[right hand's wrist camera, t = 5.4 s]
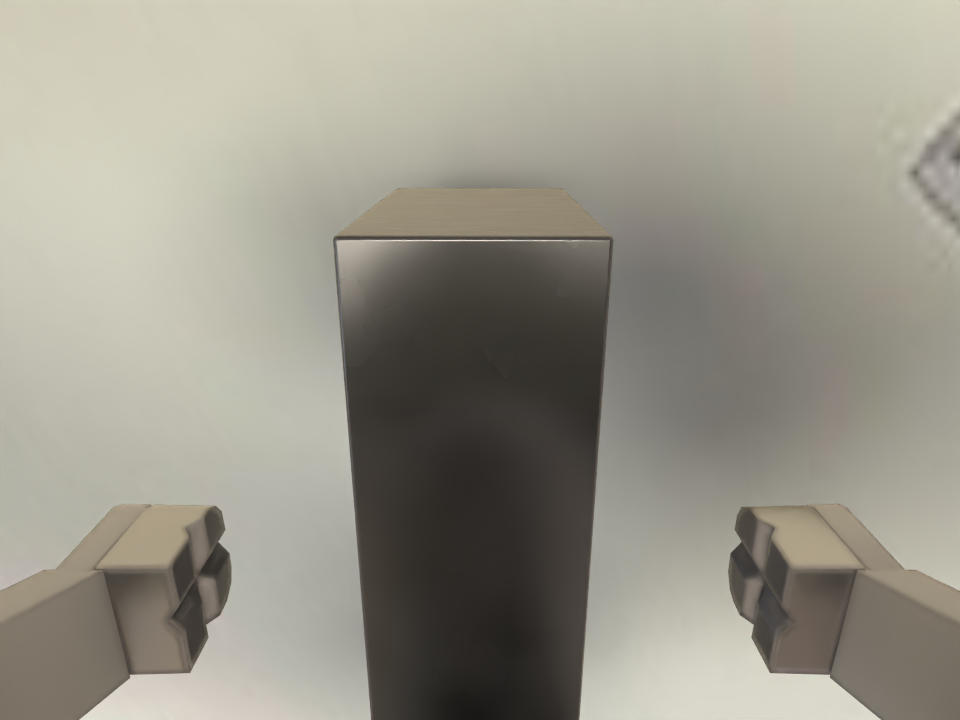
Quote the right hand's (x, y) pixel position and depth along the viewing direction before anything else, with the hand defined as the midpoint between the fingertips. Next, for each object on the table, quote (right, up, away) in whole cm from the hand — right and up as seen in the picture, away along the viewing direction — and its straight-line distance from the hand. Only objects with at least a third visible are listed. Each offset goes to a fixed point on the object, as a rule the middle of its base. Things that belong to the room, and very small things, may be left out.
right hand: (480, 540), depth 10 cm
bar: (0, -5, +13) cm, 14 cm away
